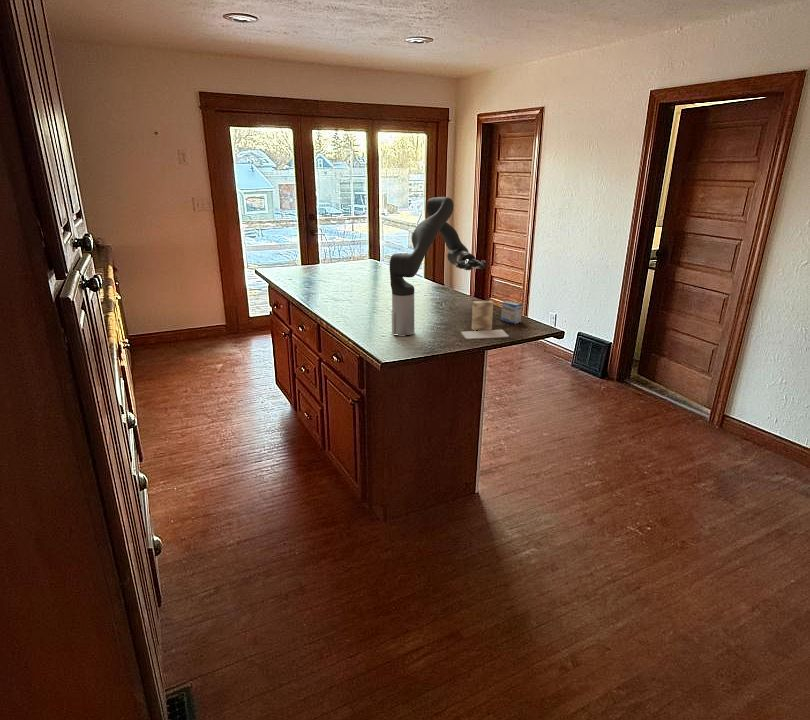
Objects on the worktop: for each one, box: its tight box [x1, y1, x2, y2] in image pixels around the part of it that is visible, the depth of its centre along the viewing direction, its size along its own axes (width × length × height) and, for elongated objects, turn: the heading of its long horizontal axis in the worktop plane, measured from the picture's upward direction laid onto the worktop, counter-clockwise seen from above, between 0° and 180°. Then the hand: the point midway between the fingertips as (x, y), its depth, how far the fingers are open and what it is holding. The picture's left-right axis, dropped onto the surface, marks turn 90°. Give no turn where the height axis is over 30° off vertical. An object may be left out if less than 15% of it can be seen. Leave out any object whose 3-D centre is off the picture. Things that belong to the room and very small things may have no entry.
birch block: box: [471, 299, 494, 331], centre depth 221 cm, size 8×4×12 cm, turn 98°
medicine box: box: [500, 300, 523, 325], centre depth 231 cm, size 8×4×9 cm, turn 45°
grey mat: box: [460, 329, 510, 340], centre depth 215 cm, size 18×9×1 cm, turn 98°
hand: (475, 267), depth 226 cm, fingers open, 5 cm apart
